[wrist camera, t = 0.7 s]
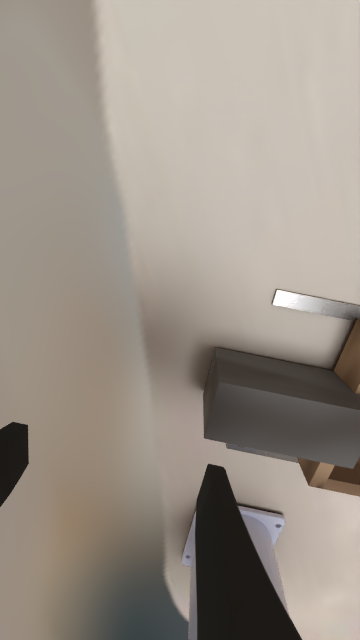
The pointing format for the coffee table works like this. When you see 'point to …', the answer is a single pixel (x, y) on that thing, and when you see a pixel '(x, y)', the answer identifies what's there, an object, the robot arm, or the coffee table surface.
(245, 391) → the cart
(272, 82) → the coffee table surface
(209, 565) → the robot arm
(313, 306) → the rail track
